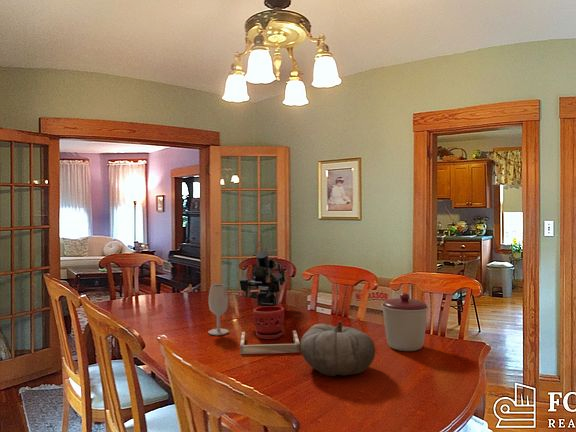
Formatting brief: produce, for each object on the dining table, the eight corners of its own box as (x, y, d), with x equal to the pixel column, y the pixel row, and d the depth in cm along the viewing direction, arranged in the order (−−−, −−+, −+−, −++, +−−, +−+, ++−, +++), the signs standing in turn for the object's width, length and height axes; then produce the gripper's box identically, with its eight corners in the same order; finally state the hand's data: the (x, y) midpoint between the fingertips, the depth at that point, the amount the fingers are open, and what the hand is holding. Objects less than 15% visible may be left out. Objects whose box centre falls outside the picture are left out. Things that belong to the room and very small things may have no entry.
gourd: (318, 382, 130) (319, 322, 133) (286, 369, 153) (287, 317, 156) (389, 378, 140) (388, 322, 143) (348, 366, 162) (348, 318, 165)
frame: (242, 339, 184) (242, 331, 184) (295, 337, 185) (295, 330, 185) (240, 354, 165) (240, 346, 164) (300, 352, 166) (299, 344, 166)
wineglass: (232, 332, 193) (232, 285, 193) (216, 337, 187) (216, 287, 186) (220, 329, 199) (219, 282, 199) (204, 333, 193) (203, 285, 192)
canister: (372, 344, 176) (371, 291, 175) (408, 338, 183) (408, 287, 183) (400, 357, 159) (400, 299, 159) (439, 351, 166) (439, 295, 166)
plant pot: (285, 332, 193) (285, 305, 193) (282, 341, 180) (282, 312, 180) (256, 331, 195) (256, 304, 194) (250, 340, 182) (250, 311, 181)
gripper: (242, 261, 211) (233, 281, 198) (280, 262, 207) (274, 282, 194) (245, 280, 216) (237, 301, 203) (283, 281, 213) (276, 302, 199)
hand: (255, 296), depth 200 cm, fingers open, 9 cm apart
